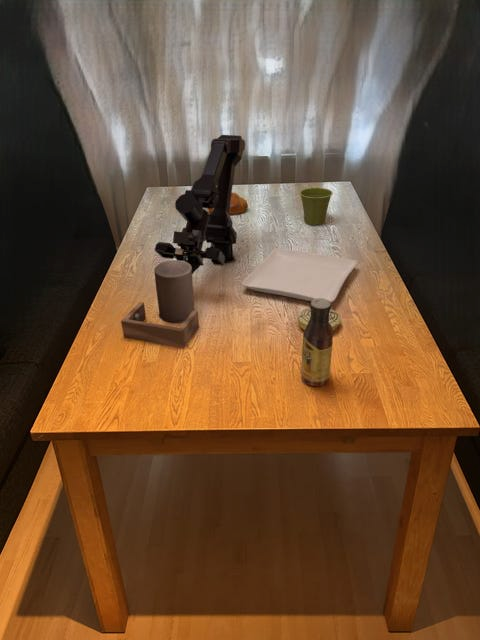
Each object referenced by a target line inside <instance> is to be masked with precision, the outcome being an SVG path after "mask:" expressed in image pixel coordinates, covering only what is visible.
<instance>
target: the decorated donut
mask: <svg viewBox="0 0 480 640" xmlns="http://www.w3.org/2000/svg"><path fill="white" fill-rule="evenodd" d="M310 317H311V309H310V306H309V307H307V308H305V309H302V310H301V311H300V312H299V313H298V316H297V323H298V325H299V327H300V329H302V330H303V332H304V331H305V329H306V327H307V325H308V323H309V320H310ZM341 323H342V319H341V316H340V314H339V313H338V312H337V311H336V310H334V309H332V308H331V310H330V311H329V324H330V325H331V327H332V329H333V333H334V332H335V331H336V330H338V329H337V328H338V327H339V326H340V324H341Z"/></svg>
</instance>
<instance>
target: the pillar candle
mask: <svg viewBox="0 0 480 640" xmlns="http://www.w3.org/2000/svg"><path fill="white" fill-rule="evenodd" d="M153 271H154V280H155V281H154V283H155V290H156V300H157V305H158V317H159V318H160V319H161V320H162V321H163V322H166V323H171V324H179V323H183V322H184V321H185V320H186V319H187V318H188V316H189V315H190V314H191V313H192V311H193V310H195V299H194V298H195V296H194V284H193V274H192V266H191V265H190V264H189V263H187V262H185V261H180V260H176V259H174V260H173V259H171V260H170V259H169V260H165V261H161V262H160V263H158V264H157V265H155V267H154V270H153Z"/></svg>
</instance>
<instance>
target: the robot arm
mask: <svg viewBox="0 0 480 640" xmlns="http://www.w3.org/2000/svg"><path fill="white" fill-rule="evenodd" d="M245 149H246V141H245V139H243V137H242V136H241V135H235V134H234V135H233V134H221V135H220V136H218V138H213V139H212V140H211V142H210V151H209V154H208V155H207V159H206V163H205V165H204V168H203V171H202V174H201V176H200V178H198V179H196V180H195V181H194V183H192V184H193V185H192V187H191V189H189V190H188V189H186V190H185V192H184V193H183V194H181V195H179V197H178V198H177V199H176V200H175V203H174V207H175V209H176V211H177V212H178V213H179V215H180V216H181V217H182V218H183V219H184V221H186V224H185V227H183V228H182V230H181V231H177V230H174V231H173V239H172V244H171V242H163V241H159V242H157V243H156V244H155V247H154V251H155V252H156V253H157V255H159V256H160V258H163V259H169V260H170V259H171V260H173V259H174V260H180V261H185V262H187V263H189V264H190V265H191V266H192V275H193V274H194V273H195V272H196V271H197V270H198V269H199V268H200V266H201V267H202V266H205V265H204V259H206V260H207V259H208V260H210V261H211V263H212V264H213V265H218V266H223V265H224V264H226V263H227V264H228V263H231V262H236V258H235V257H234V247H233V246H234V244H237V238H238V237H237V231H236V229H234V227H233V219H232V217H231V216H230V215H231V214H230V215H229V208H230V201H231V194H232V193H233V185H234V177H235V172H236V171H235V170H236V166H237V164H239V163H240V161H241V160H242V158H243V153H244V151H245ZM207 208H210V209H212V208H214V210H213V212H212V213H209V210H208V211H207V210H206V209H207ZM204 242H206V244H210V246H209V247H206V248H205V250H203V245H204ZM173 244H176V245H177V246H178V247H174V245H173Z"/></svg>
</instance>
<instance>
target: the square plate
mask: <svg viewBox="0 0 480 640" xmlns="http://www.w3.org/2000/svg"><path fill="white" fill-rule="evenodd" d="M358 263H359V261H358V260H356V259H352V258H343V257H339V256H334V255H329V254H322V253H321V254H319V253H313V252H307V251H303V250H300V251H299V250H295V249H294V250H293V249H287V248H286V249H285V248H274V249H273V250H272V251H271V252H270V253H268V255H267V256H266V257H265V258H264V259H263V260H262V261H261V262H260V264H258V265H257V266H256V267H255V268H254V269H253V270H252V271H251V272H250V274H249V275H247V276H246V278H245V279H243V280H242V282H241V286H243V287H244V288H246V289H248V290H251V291H255V292H261V293H263V294H264V293H265V294H270V295H271V294H272V295H278V296H283V297H288V298H293V299H294V298H295V299H297V300H298V299H299V300H303V301H308V302H312V300H314V299H317V298H323V299H327V300H328V301H330V303H331V304H332V303H333V302H335V301H336V299H337V297H338V295H339V292H340V291H341V289H342V287H343V285H344V283H345V281H346V279H347V278H348V277H349V275H350V274H351V272H352V271H353V270H354V268H355V267H356V266H357V265H358Z"/></svg>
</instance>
